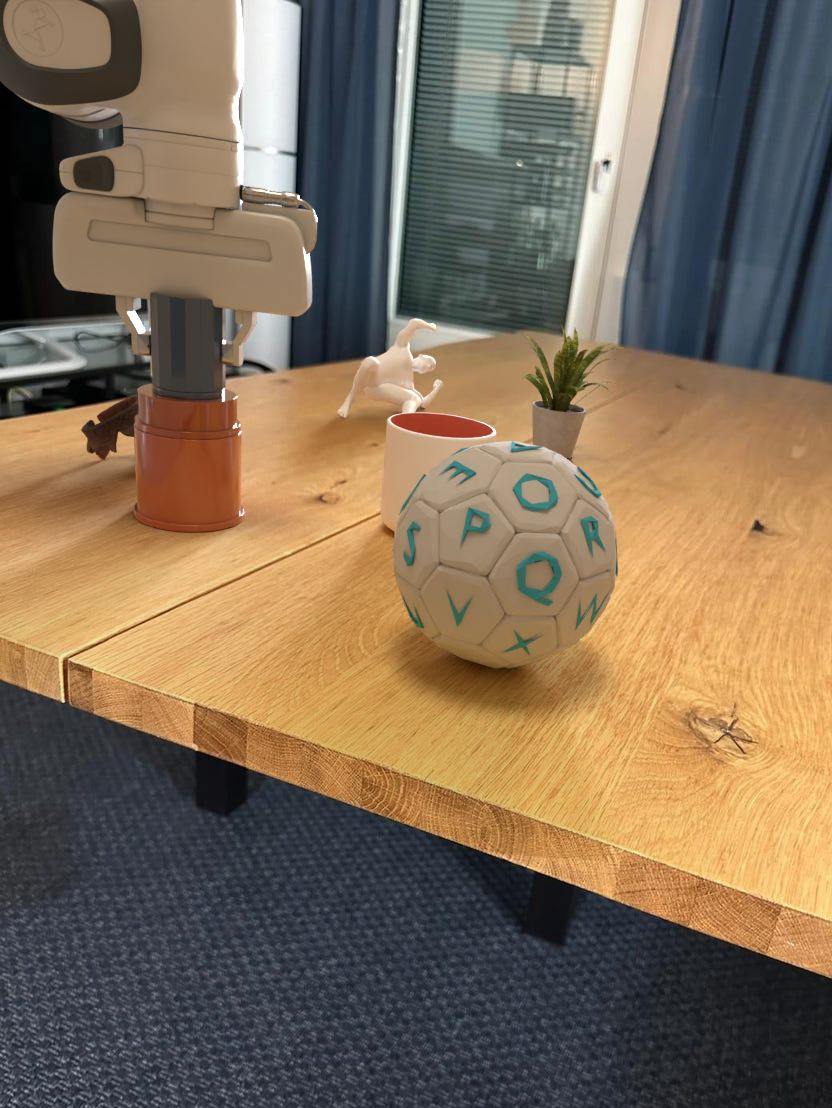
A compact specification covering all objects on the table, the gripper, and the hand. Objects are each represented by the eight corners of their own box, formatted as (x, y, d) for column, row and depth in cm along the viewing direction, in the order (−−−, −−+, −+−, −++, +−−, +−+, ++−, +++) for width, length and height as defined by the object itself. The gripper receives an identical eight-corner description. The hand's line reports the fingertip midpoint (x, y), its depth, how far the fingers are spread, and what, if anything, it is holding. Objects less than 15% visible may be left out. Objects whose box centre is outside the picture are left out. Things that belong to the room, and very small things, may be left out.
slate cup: (142, 394, 77) (138, 292, 73) (163, 382, 82) (160, 286, 79) (215, 403, 77) (215, 302, 74) (231, 389, 82) (232, 295, 79)
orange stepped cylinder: (118, 525, 79) (112, 396, 75) (151, 493, 88) (147, 376, 84) (231, 537, 80) (231, 409, 76) (253, 504, 89) (255, 388, 84)
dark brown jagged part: (173, 490, 91) (124, 416, 87) (103, 513, 95) (53, 443, 91) (225, 436, 100) (183, 366, 96) (159, 459, 104) (116, 393, 100)
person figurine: (418, 347, 120) (434, 309, 135) (323, 356, 121) (349, 317, 136) (433, 442, 127) (446, 395, 142) (343, 449, 129) (366, 402, 144)
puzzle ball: (344, 663, 61) (358, 440, 55) (442, 594, 74) (463, 406, 68) (557, 732, 56) (600, 496, 50) (623, 646, 69) (664, 449, 63)
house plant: (632, 473, 118) (657, 340, 111) (532, 471, 113) (553, 331, 106) (583, 444, 130) (603, 322, 123) (491, 440, 125) (507, 314, 118)
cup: (461, 555, 83) (473, 445, 79) (360, 531, 85) (368, 423, 81) (497, 527, 91) (510, 426, 87) (405, 505, 94) (414, 407, 90)
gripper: (323, 195, 76) (316, 367, 82) (68, 163, 75) (80, 340, 81) (312, 195, 70) (306, 379, 76) (36, 160, 69) (51, 351, 75)
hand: (188, 359), depth 78 cm, fingers closed on slate cup, 6 cm apart
